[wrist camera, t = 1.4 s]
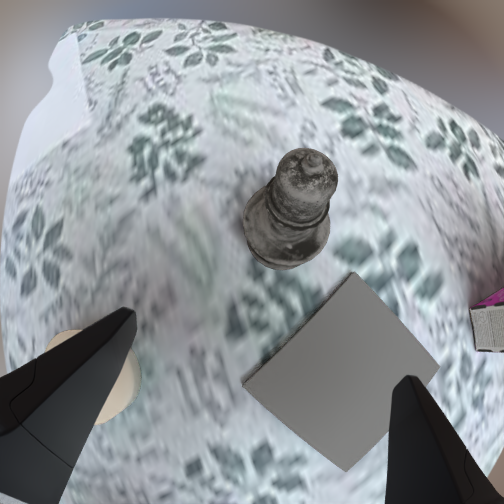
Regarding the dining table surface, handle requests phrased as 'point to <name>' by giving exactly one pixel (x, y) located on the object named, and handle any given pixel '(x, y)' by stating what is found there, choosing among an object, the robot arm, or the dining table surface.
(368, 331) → the mat
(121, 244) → the dining table surface
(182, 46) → the dining table surface
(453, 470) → the robot arm
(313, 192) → the grey chess piece
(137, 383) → the cream rounded squat cylinder
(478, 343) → the candy bar box
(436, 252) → the dining table surface
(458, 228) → the dining table surface
